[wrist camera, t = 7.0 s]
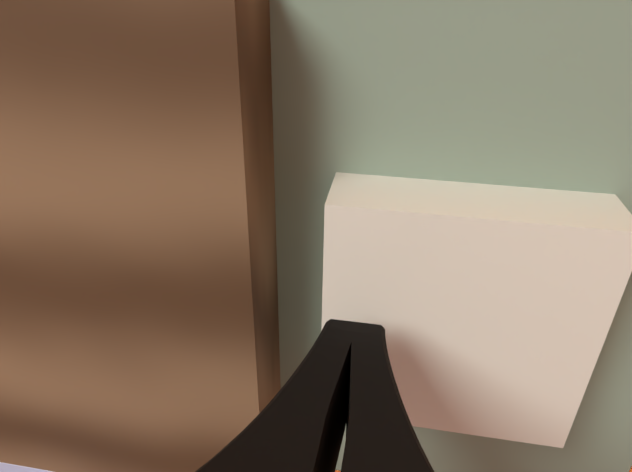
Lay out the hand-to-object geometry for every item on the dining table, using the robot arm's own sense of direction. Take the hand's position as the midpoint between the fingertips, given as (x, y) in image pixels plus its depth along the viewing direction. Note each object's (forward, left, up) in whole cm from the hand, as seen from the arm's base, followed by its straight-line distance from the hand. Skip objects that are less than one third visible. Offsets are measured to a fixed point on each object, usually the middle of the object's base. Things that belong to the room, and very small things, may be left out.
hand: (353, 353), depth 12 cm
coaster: (0, -2, -3) cm, 4 cm away
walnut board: (0, +8, -4) cm, 8 cm away
